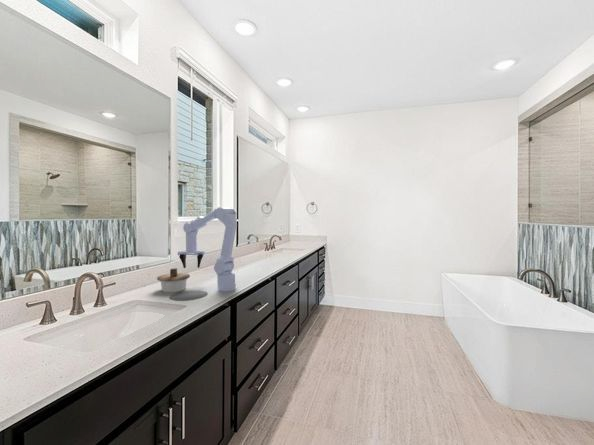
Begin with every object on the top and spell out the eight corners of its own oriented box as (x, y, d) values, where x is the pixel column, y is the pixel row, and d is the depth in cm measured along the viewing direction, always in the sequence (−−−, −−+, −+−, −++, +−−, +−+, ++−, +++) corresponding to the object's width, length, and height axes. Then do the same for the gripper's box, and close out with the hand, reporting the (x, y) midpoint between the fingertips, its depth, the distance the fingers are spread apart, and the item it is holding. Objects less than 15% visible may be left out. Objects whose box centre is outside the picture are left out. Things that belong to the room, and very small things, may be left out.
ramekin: (181, 294, 145) (180, 280, 145) (155, 294, 145) (155, 280, 145) (191, 287, 158) (190, 275, 158) (167, 287, 159) (167, 275, 159)
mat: (209, 290, 151) (208, 289, 151) (206, 300, 134) (206, 299, 134) (172, 292, 147) (172, 291, 147) (165, 303, 129) (165, 302, 129)
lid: (191, 274, 161) (191, 265, 161) (188, 280, 146) (187, 270, 146) (160, 275, 157) (160, 267, 157) (153, 282, 142) (153, 272, 142)
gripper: (175, 244, 156) (176, 269, 156) (202, 244, 158) (203, 268, 158) (179, 243, 163) (180, 266, 163) (205, 243, 165) (205, 266, 165)
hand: (191, 267), depth 161 cm, fingers open, 7 cm apart
